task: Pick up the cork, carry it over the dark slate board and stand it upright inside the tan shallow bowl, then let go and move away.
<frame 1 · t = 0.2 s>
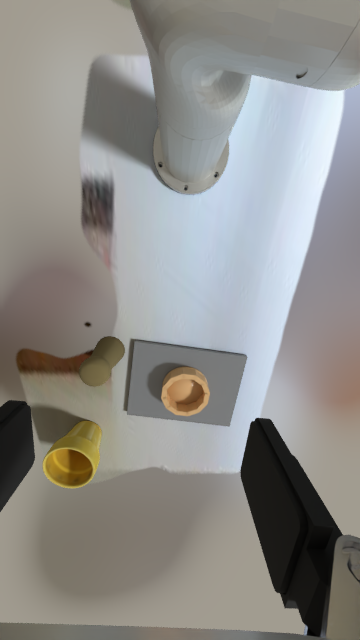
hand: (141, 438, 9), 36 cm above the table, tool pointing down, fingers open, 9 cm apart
tan shallow bowl: (184, 386, 49), resting on slate board
plant pot: (87, 430, 53), on the table
slate board: (184, 384, 50), on the table
cork: (110, 349, 47), on the table
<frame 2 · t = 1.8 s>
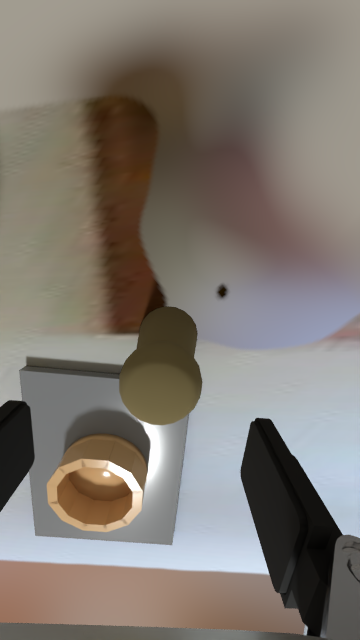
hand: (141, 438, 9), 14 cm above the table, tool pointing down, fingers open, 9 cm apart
tan shallow bowl: (105, 468, 26), resting on slate board
slate board: (107, 461, 27), on the table
cork: (168, 334, 23), on the table
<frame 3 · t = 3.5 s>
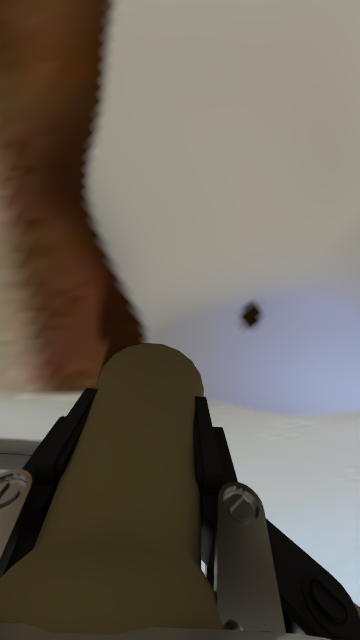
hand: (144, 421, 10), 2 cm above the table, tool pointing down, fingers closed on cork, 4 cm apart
slate board: (57, 583, 17), on the table
cork: (150, 390, 13), on the table, touching gripper
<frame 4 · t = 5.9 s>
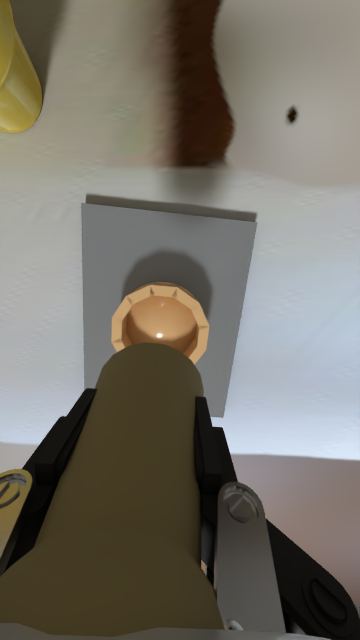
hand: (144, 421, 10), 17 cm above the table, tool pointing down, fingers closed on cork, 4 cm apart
tan shallow bowl: (162, 324, 26), resting on slate board
plant pot: (8, 92, 21), on the table
slate board: (162, 322, 27), on the table
cork: (150, 390, 13), point 14 cm above the table, touching gripper
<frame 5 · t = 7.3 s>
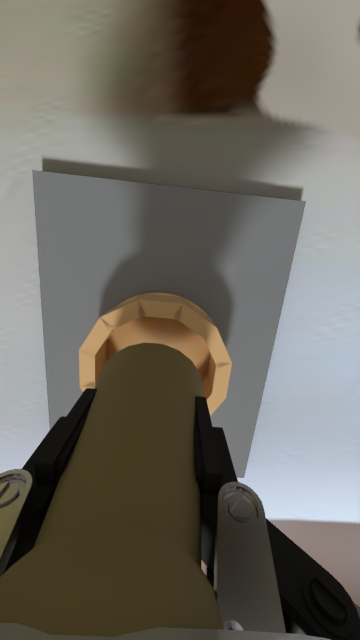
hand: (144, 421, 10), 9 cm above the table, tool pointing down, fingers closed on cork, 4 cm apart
tan shallow bowl: (159, 354, 18), resting on slate board
slate board: (159, 349, 19), on the table
cork: (150, 390, 13), point 6 cm above the table, touching gripper
when the fingers open (5 cm above the table, at t = 8.3 s): cork drops 1 cm, resting on tan shallow bowl.
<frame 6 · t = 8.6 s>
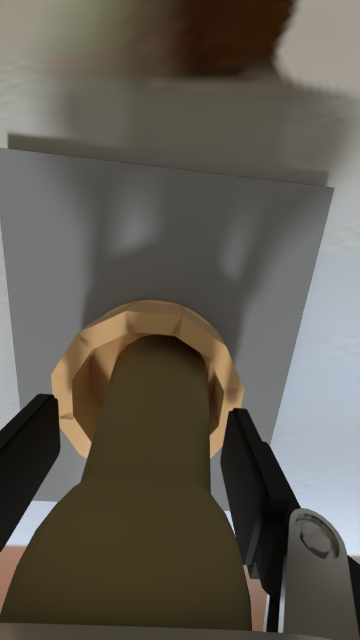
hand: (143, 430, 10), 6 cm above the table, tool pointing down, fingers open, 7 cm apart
tan shallow bowl: (154, 372, 15), resting on slate board
slate board: (155, 366, 16), on the table
cork: (160, 377, 14), point 2 cm above the table, touching tan shallow bowl
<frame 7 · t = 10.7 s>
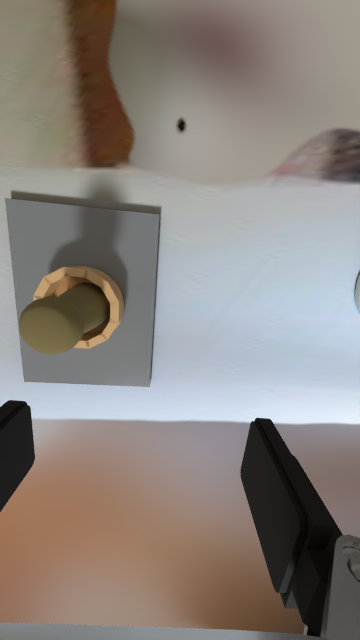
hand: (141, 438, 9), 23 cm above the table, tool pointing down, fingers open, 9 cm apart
tan shallow bowl: (86, 304, 30), resting on slate board
slate board: (89, 303, 31), on the table
cork: (88, 305, 29), point 2 cm above the table, touching tan shallow bowl
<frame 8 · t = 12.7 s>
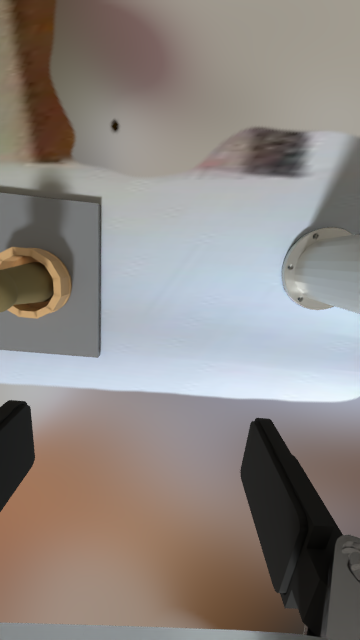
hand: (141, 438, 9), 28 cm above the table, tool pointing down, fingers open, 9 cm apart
tan shallow bowl: (39, 281, 34), resting on slate board
slate board: (42, 281, 35), on the table
cork: (40, 282, 34), point 2 cm above the table, touching tan shallow bowl
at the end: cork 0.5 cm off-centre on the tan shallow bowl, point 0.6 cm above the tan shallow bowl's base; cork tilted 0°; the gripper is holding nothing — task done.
